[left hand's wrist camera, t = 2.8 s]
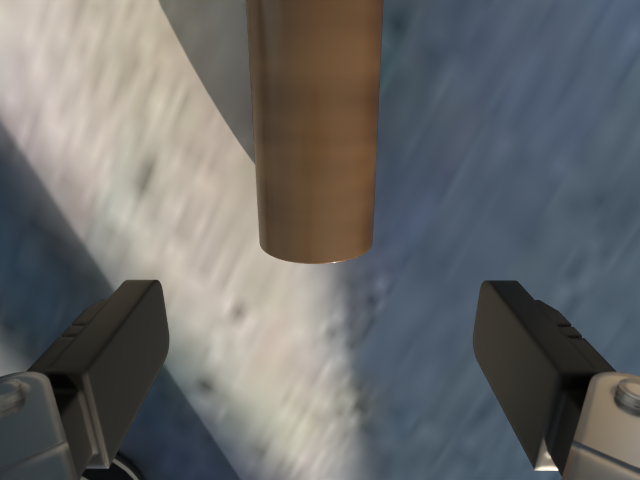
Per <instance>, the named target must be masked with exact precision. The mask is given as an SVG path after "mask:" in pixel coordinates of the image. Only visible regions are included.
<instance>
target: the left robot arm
mask: <svg viewBox="0 0 640 480" xmlns="http://www.w3.org/2000/svg"><path fill="white" fill-rule="evenodd" d="M473 348H474V353H475V357H476V359H477V361H478V363H479V365H480V367H481V369H482V371H483V373H484V375H485V377H486V379H487V380H488V382H489V384H490V386H491V388H492V390H493V392H494V394H495V396H496V398H497V399H498V401H499V403H500V405H501V407H502V409H503V411H504V413H505V415H506V417H507V418H508V420H509V422H510V424H511V426H512V428H513V430H514V432H515V434H516V436H517V437H518V439H519V441H520V443H521V445H522V447H523V449H524V451H525V453H526V455H527V456H528V458H529V460H530V462H531V464H532V466H533V468H534V470H558V471H559V472H560V474H561V476H562V480H640V377H638V376H635V375H632V374H627V373H622V372H616V371H615V370H614V369H613V368H612V366H611V365H610V364H609V363H608V362H607V361H606V360H605V359H604V358H603V357H602V356H601V355H600V354H599V353H598V352H597V351H596V350H595V349H594V348H593V347H592V346H591V345H590V344H589V342H588V341H587V340H586V339H585V338H582V335H581V334H580V333H579V332H578V331H577V330H576V329H575V328H574V327H571V324H570V323H569V322H568V321H567V320H566V318H565V317H564V316H563V315H562V314H561V313H560V312H559V311H557V310H555V309H554V308H552V307H550V306H549V305H547V304H545V303H543V302H542V301H540V300H534V299H533V298H532V297H531V296H530V294H529V293H528V292H527V291H526V290H525V289H524V288H523V287H522V286H521V284H520V283H519V282H517V281H484V282H483V283H482V285H481V288H480V293H479V300H478V306H477V313H476V319H475V326H474V332H473ZM168 349H169V330H168V323H167V316H166V310H165V303H164V296H163V290H162V286H161V283H160V282H159V281H158V280H126V281H124V282H123V283H122V285H121V286H120V287H119V288H118V289H117V290H116V291H115V292H114V294H113V295H112V296H111V297H110V298H109V299H103V300H101V301H100V302H98V303H96V304H95V305H93V306H91V307H89V308H88V309H86V310H84V311H83V312H82V313H81V314H80V316H79V317H78V318H77V319H76V320H75V321H74V322H73V323H72V326H69V327H68V328H67V329H66V330H65V331H64V332H63V333H62V336H61V337H59V338H58V339H57V340H56V341H55V342H54V343H53V344H52V345H51V346H50V347H49V348H48V349H47V350H46V351H45V352H44V353H43V355H42V356H41V357H40V358H39V359H38V360H37V361H36V362H35V363H34V364H33V365H32V366H31V367H30V368H29V369H28V370H27V371H26V372H18V373H13V374H8V375H5V376H2V377H0V480H144V479H143V477H142V476H141V474H140V473H139V471H138V470H137V469H136V468H135V467H134V466H133V465H132V464H131V463H130V462H128V461H127V460H126V459H124V458H123V457H121V456H120V455H118V454H117V452H118V450H119V448H120V446H121V444H122V442H123V440H124V438H125V436H126V434H127V432H128V431H129V429H130V427H131V425H132V423H133V421H134V419H135V417H136V415H137V413H138V411H139V409H140V407H141V406H142V404H143V402H144V400H145V398H146V396H147V394H148V392H149V390H150V388H151V386H152V384H153V382H154V381H155V379H156V377H157V375H158V373H159V371H160V369H161V367H162V365H163V363H164V361H165V359H166V357H167V354H168Z"/></svg>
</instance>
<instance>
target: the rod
mask: <svg viewBox="0 0 640 480" xmlns="http://www.w3.org/2000/svg"><path fill="white" fill-rule="evenodd" d="M246 10H247V28H248V45H249V63H250V81H251V98H252V116H253V133H254V151H255V169H256V186H257V204H258V221H259V239H260V246H261V248H262V249H263V250H264V251H265V252H266V253H267V254H269V255H271V256H273V257H275V258H278V259H281V260H285V261H289V262H295V263H304V264H327V263H336V262H342V261H346V260H350V259H353V258H356V257H359V256H361V255H363V254H364V253H366V252H367V251H368V250H369V249H370V248H371V246H372V243H373V224H374V202H375V179H376V156H377V134H378V111H379V89H380V66H381V43H382V21H383V0H246Z"/></svg>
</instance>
